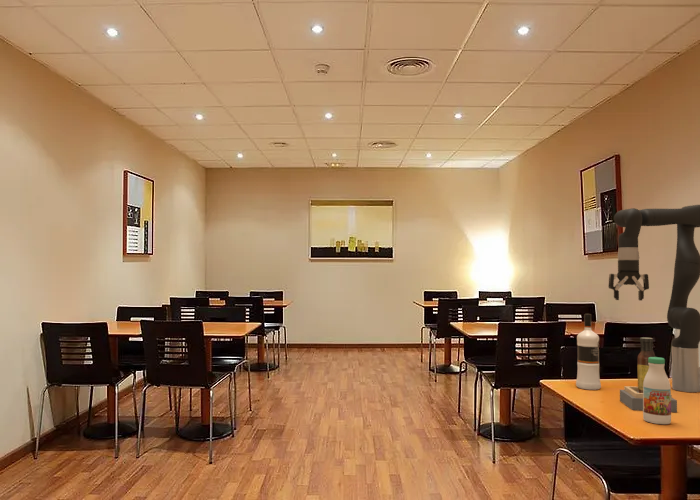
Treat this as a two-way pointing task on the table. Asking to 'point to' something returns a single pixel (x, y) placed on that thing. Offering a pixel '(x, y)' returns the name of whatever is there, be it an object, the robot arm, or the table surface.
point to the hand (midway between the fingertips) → (628, 300)
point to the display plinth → (638, 399)
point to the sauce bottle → (644, 360)
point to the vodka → (588, 357)
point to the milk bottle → (656, 393)
